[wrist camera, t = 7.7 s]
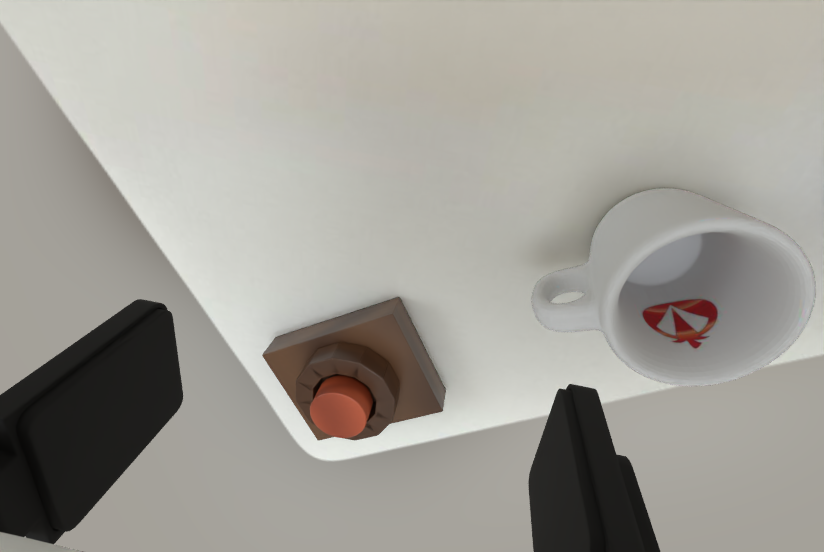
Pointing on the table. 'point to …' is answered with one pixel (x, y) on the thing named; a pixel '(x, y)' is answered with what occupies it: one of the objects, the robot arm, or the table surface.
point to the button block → (361, 365)
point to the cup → (685, 289)
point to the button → (341, 406)
